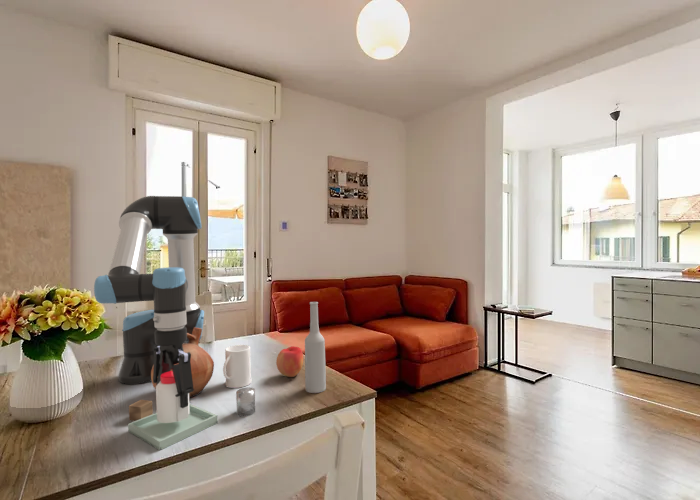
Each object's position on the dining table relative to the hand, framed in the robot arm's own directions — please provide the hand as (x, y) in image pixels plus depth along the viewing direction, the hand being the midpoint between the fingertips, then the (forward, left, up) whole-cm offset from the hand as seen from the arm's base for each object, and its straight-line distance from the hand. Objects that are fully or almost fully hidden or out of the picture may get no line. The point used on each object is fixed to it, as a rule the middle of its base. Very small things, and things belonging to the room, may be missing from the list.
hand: (173, 414), depth 96 cm
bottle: (+15, +39, -3) cm, 42 cm away
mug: (-10, +27, -3) cm, 29 cm away
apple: (0, +43, -3) cm, 43 cm away
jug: (-19, +14, -3) cm, 24 cm away
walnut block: (-13, -2, -3) cm, 14 cm away
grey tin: (+9, +16, -3) cm, 19 cm away
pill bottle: (0, 0, 0) cm, 0 cm away
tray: (0, 0, -3) cm, 3 cm away
